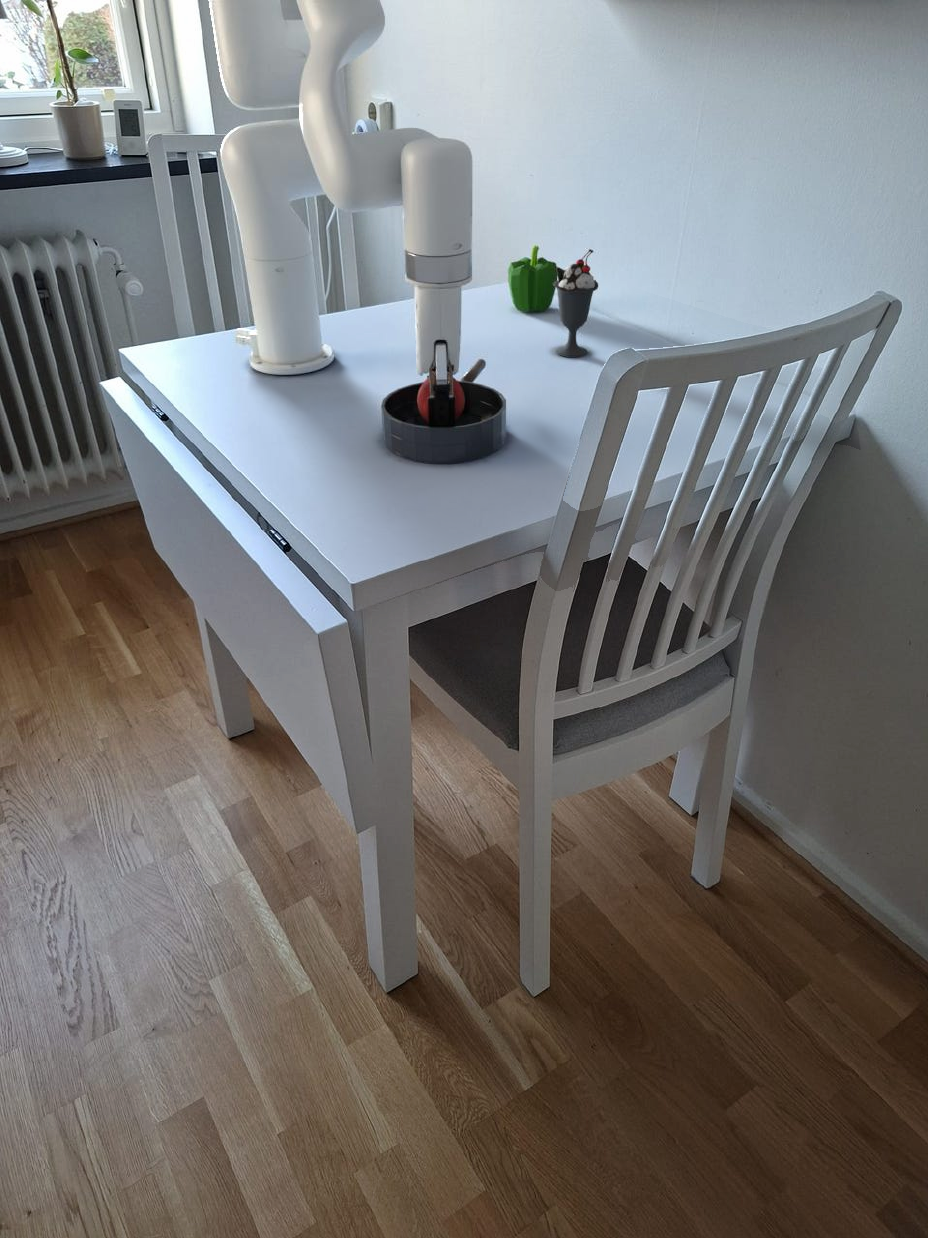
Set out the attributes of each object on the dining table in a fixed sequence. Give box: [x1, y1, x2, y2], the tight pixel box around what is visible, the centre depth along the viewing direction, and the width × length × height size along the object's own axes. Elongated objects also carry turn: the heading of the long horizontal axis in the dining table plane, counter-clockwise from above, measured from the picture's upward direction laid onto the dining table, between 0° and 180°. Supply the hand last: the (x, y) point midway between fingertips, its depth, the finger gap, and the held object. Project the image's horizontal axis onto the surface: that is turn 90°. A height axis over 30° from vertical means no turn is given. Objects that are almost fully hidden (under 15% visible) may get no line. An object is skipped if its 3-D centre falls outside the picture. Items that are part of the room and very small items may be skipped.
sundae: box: [553, 248, 599, 358], centre depth 129 cm, size 7×7×15 cm
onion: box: [417, 371, 465, 423], centre depth 106 cm, size 6×6×8 cm
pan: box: [380, 380, 507, 465], centre depth 107 cm, size 15×15×4 cm
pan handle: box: [459, 358, 487, 383], centre depth 115 cm, size 9×1×1 cm, turn 163°
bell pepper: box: [507, 245, 558, 313], centre depth 148 cm, size 8×8×10 cm
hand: (441, 416), depth 107 cm, fingers closed on onion, 6 cm apart
